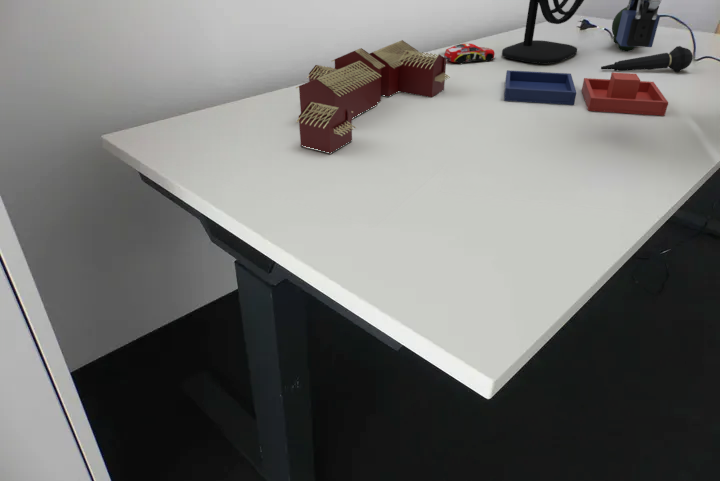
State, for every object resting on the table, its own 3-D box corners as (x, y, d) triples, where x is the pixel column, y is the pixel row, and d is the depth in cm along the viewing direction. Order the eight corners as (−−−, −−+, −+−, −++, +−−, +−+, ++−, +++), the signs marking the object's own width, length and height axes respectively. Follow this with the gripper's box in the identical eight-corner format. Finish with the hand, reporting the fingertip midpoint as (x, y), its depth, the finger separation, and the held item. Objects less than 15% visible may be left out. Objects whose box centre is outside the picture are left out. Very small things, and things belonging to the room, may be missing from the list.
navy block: (645, 40, 89) (653, 10, 86) (651, 47, 85) (660, 16, 82) (615, 39, 89) (622, 10, 87) (620, 46, 86) (628, 15, 83)
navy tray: (568, 85, 118) (571, 73, 117) (573, 105, 107) (576, 92, 106) (505, 81, 121) (506, 70, 120) (503, 100, 110) (505, 88, 109)
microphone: (601, 85, 128) (691, 75, 125) (606, 63, 124) (699, 52, 121) (595, 72, 131) (683, 62, 129) (600, 50, 127) (690, 40, 125)
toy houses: (375, 74, 127) (375, 29, 122) (455, 87, 118) (459, 39, 113) (245, 136, 95) (237, 78, 90) (342, 160, 86) (340, 98, 81)
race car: (488, 56, 141) (490, 40, 139) (498, 61, 136) (500, 44, 134) (441, 59, 138) (442, 43, 136) (449, 65, 134) (450, 48, 132)
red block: (630, 96, 110) (636, 73, 107) (634, 103, 106) (640, 80, 103) (606, 95, 111) (611, 72, 108) (609, 102, 107) (615, 78, 104)
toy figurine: (610, 41, 159) (604, 53, 139) (626, -30, 151) (623, -29, 131) (645, 44, 156) (644, 56, 136) (663, -29, 147) (666, -28, 127)
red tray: (650, 94, 113) (653, 81, 111) (664, 116, 102) (668, 102, 100) (581, 90, 115) (584, 77, 114) (588, 111, 104) (591, 97, 103)
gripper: (714, -89, 70) (672, 56, 79) (679, -92, 83) (647, 32, 93) (652, -89, 71) (618, 54, 81) (627, -92, 85) (601, 30, 95)
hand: (634, 40), depth 87 cm, fingers closed on navy block, 4 cm apart
